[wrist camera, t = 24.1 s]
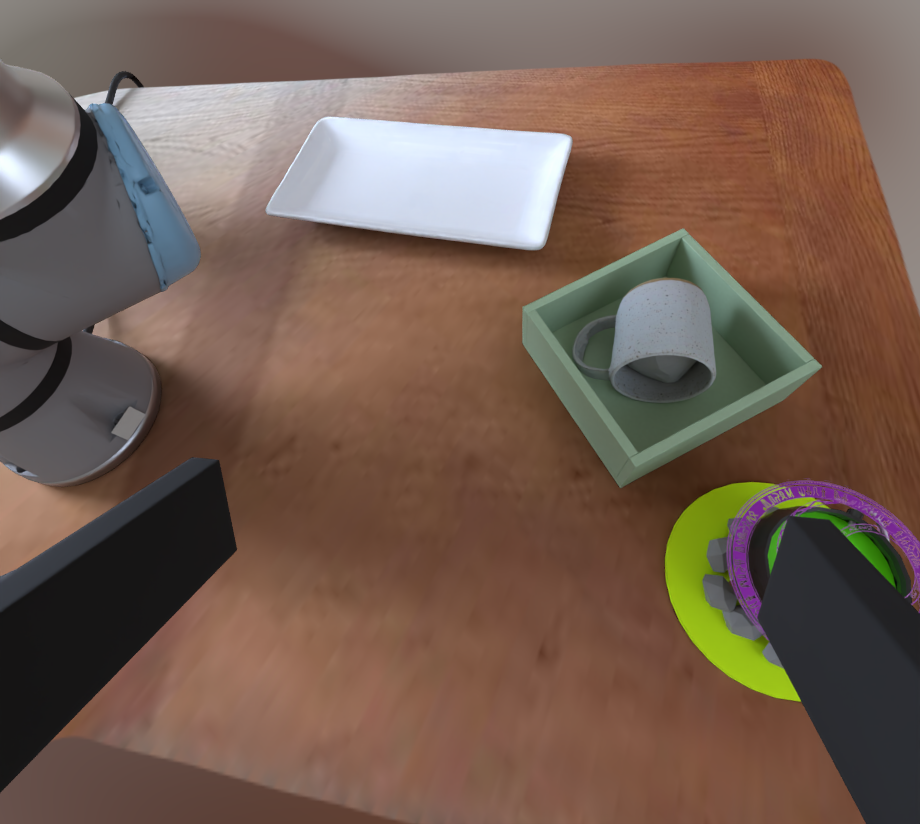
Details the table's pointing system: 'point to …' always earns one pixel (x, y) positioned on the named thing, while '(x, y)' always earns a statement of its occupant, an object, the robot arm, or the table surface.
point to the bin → (677, 423)
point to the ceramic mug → (656, 343)
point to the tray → (427, 181)
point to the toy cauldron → (760, 568)
